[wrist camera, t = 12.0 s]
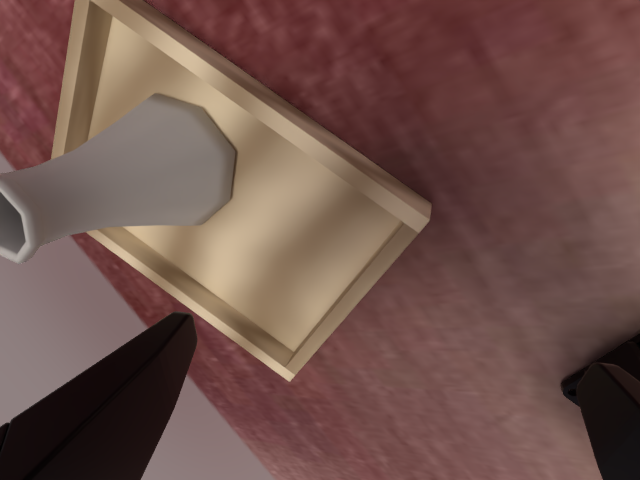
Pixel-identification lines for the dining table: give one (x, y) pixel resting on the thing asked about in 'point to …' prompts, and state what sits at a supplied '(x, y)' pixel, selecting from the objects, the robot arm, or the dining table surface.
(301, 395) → the dining table surface
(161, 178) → the flask
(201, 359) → the dining table surface
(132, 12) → the serving tray
